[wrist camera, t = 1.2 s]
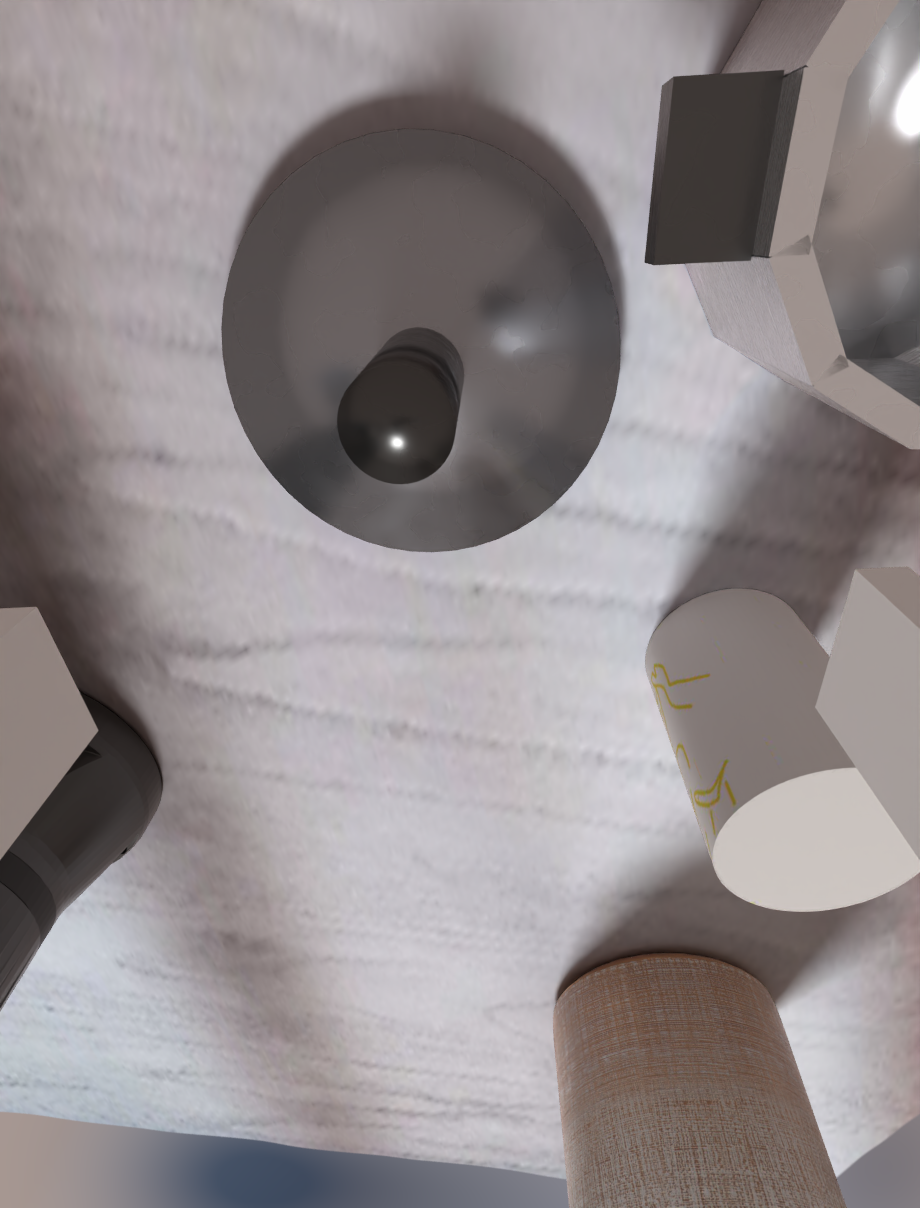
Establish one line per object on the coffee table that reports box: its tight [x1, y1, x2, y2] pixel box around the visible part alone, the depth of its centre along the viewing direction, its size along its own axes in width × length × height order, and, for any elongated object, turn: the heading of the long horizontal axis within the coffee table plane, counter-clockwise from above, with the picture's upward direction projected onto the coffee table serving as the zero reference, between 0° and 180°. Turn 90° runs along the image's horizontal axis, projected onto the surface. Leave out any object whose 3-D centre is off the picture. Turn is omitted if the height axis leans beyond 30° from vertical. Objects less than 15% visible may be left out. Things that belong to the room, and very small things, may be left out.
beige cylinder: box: [645, 588, 920, 912], centre depth 28 cm, size 8×8×12 cm
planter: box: [553, 953, 847, 1208], centre depth 45 cm, size 18×18×16 cm
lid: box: [222, 129, 620, 552], centre depth 23 cm, size 16×16×9 cm
